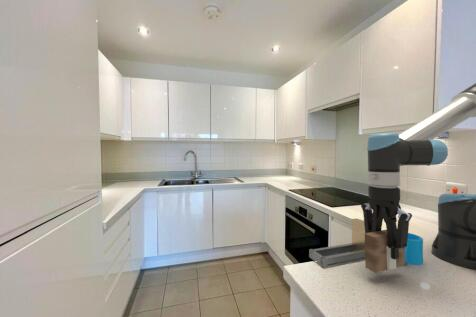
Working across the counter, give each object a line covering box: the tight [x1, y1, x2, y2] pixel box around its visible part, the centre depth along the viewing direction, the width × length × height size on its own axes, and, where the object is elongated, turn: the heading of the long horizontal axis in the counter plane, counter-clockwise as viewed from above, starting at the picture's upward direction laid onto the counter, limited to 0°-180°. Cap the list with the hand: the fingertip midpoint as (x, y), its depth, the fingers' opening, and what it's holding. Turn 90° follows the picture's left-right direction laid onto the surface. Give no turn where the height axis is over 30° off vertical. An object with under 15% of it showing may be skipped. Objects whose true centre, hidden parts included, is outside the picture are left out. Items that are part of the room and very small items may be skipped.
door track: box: [308, 217, 365, 269], centre depth 70 cm, size 22×7×12 cm, turn 107°
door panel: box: [364, 228, 406, 274], centre depth 58 cm, size 12×3×10 cm, turn 107°
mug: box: [405, 232, 424, 266], centre depth 68 cm, size 12×8×8 cm
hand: (384, 265), depth 58 cm, fingers closed on door panel, 3 cm apart
